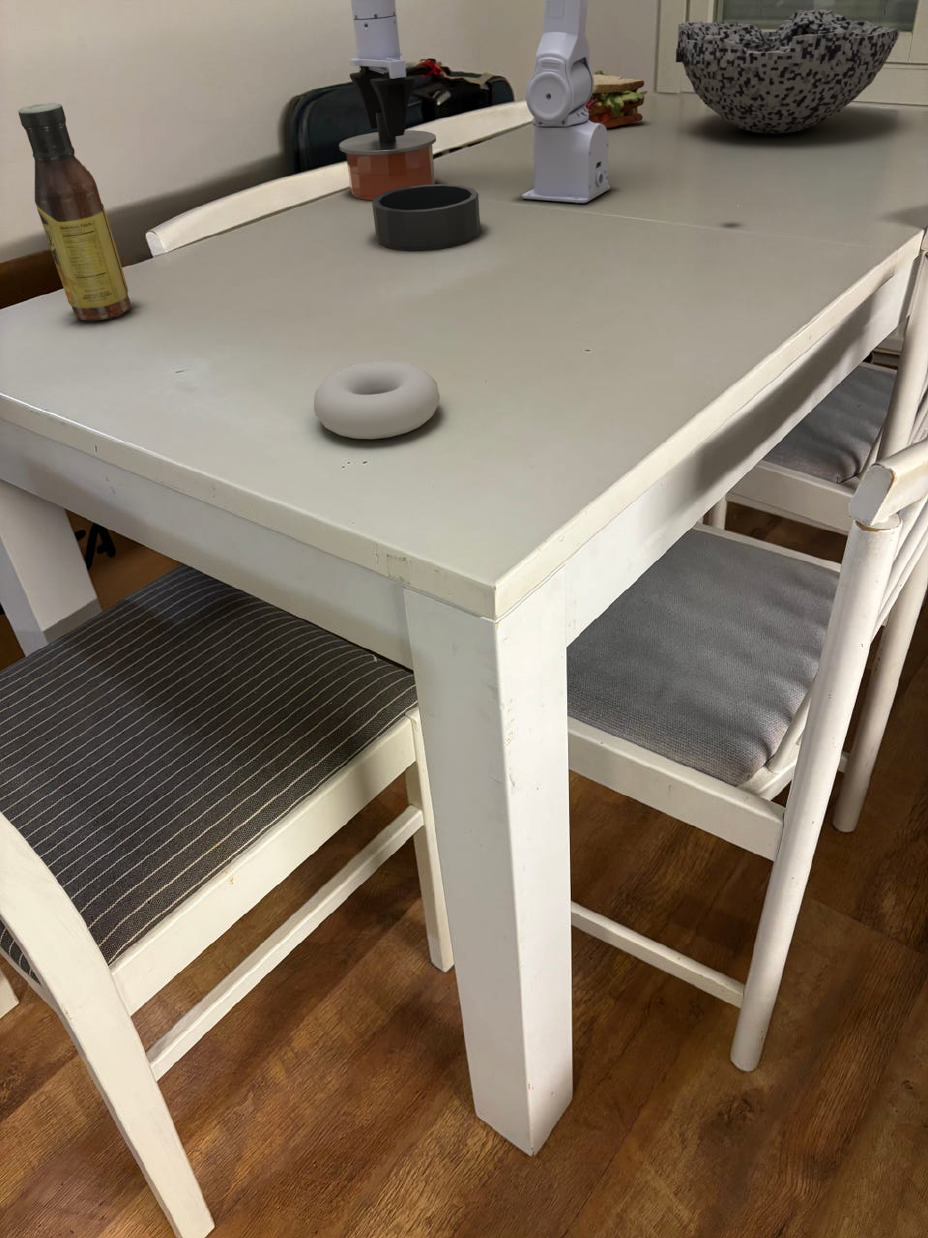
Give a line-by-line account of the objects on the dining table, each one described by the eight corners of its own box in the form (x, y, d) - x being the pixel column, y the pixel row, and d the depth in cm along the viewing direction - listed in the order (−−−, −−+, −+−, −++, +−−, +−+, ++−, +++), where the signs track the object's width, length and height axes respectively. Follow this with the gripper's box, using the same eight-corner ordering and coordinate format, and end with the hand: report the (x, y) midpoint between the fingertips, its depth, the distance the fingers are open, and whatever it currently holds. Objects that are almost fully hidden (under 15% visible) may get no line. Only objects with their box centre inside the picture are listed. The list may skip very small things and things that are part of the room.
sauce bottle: (85, 304, 104) (22, 101, 92) (141, 301, 104) (84, 96, 92) (63, 326, 99) (-6, 113, 87) (122, 323, 99) (60, 109, 87)
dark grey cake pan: (498, 225, 118) (496, 187, 116) (443, 254, 110) (440, 214, 107) (414, 217, 124) (411, 181, 121) (357, 244, 116) (351, 206, 113)
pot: (450, 182, 138) (447, 136, 135) (403, 203, 130) (398, 155, 127) (383, 177, 144) (378, 133, 140) (334, 197, 136) (328, 151, 132)
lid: (454, 140, 135) (452, 103, 132) (400, 162, 126) (396, 122, 123) (377, 136, 141) (373, 100, 138) (320, 157, 132) (315, 119, 129)
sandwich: (531, 127, 165) (530, 74, 160) (579, 114, 171) (579, 63, 167) (604, 136, 155) (605, 80, 150) (651, 122, 161) (654, 68, 157)
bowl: (779, 162, 134) (794, 38, 125) (634, 134, 156) (637, 27, 147) (925, 125, 146) (949, 10, 137) (771, 104, 168) (783, 3, 159)
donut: (351, 389, 81) (294, 439, 74) (345, 350, 79) (286, 397, 72) (459, 399, 78) (411, 453, 71) (457, 359, 76) (406, 409, 69)
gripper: (329, 16, 128) (344, 128, 137) (363, 23, 118) (377, 144, 126) (378, 11, 130) (390, 120, 139) (416, 17, 120) (426, 136, 128)
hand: (387, 131), depth 132 cm, fingers open, 7 cm apart
